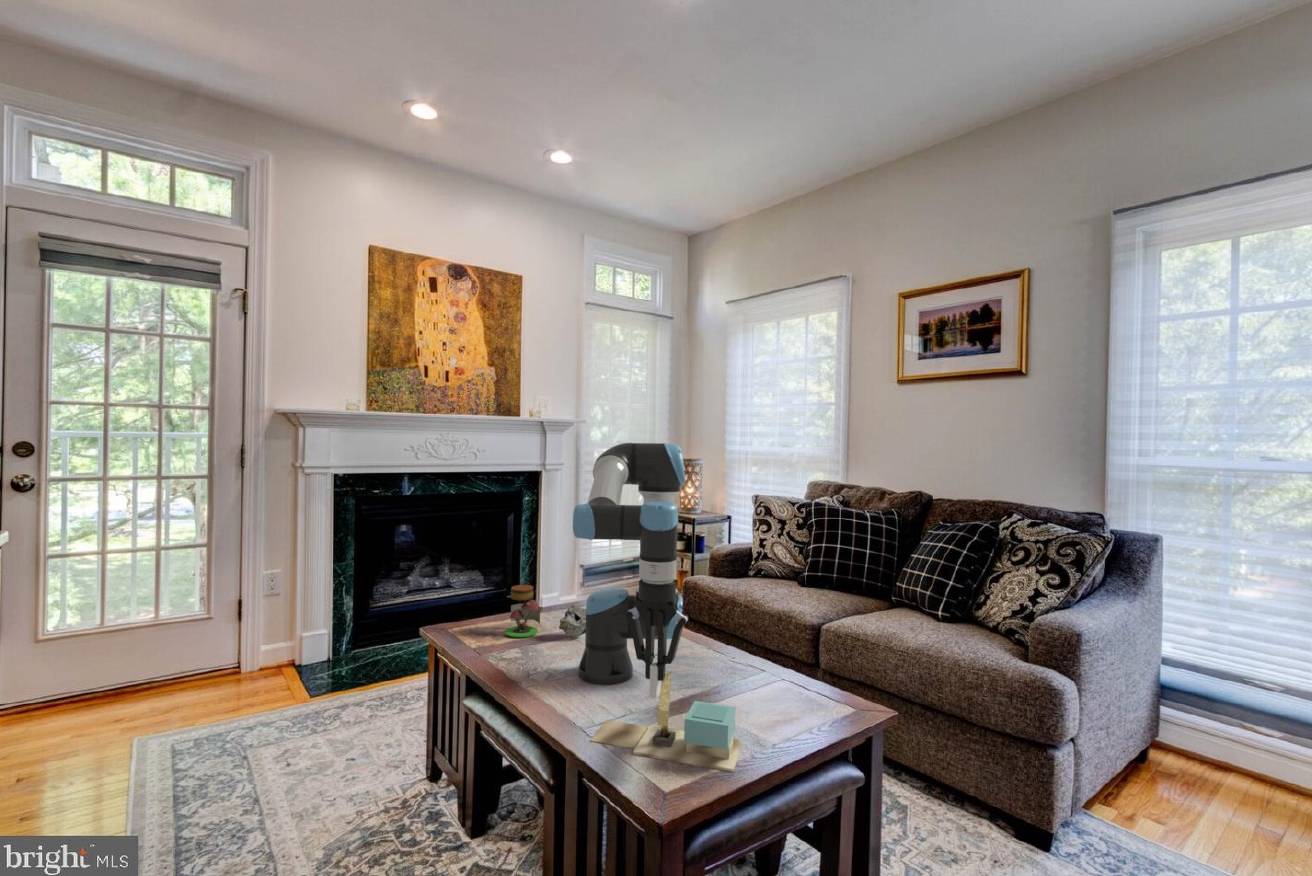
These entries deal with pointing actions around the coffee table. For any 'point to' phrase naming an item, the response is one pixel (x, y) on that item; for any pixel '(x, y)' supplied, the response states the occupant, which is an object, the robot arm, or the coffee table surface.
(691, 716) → the cover
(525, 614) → the mushroom figurine
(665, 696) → the t key
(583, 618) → the mineral specimen
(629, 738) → the pad
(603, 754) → the coffee table surface
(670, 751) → the housing
